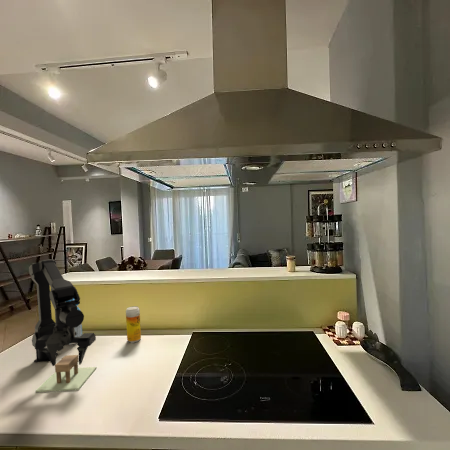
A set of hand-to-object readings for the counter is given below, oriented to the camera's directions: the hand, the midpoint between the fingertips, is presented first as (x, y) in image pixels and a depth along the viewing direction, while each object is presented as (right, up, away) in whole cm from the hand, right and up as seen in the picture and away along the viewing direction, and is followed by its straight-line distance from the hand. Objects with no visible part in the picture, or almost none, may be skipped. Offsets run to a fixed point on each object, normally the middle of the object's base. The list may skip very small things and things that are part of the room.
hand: (67, 364), depth 105 cm
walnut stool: (0, -5, 0) cm, 5 cm away
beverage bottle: (-15, -5, +34) cm, 38 cm away
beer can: (+14, -4, +32) cm, 35 cm away
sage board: (0, -5, 0) cm, 5 cm away
